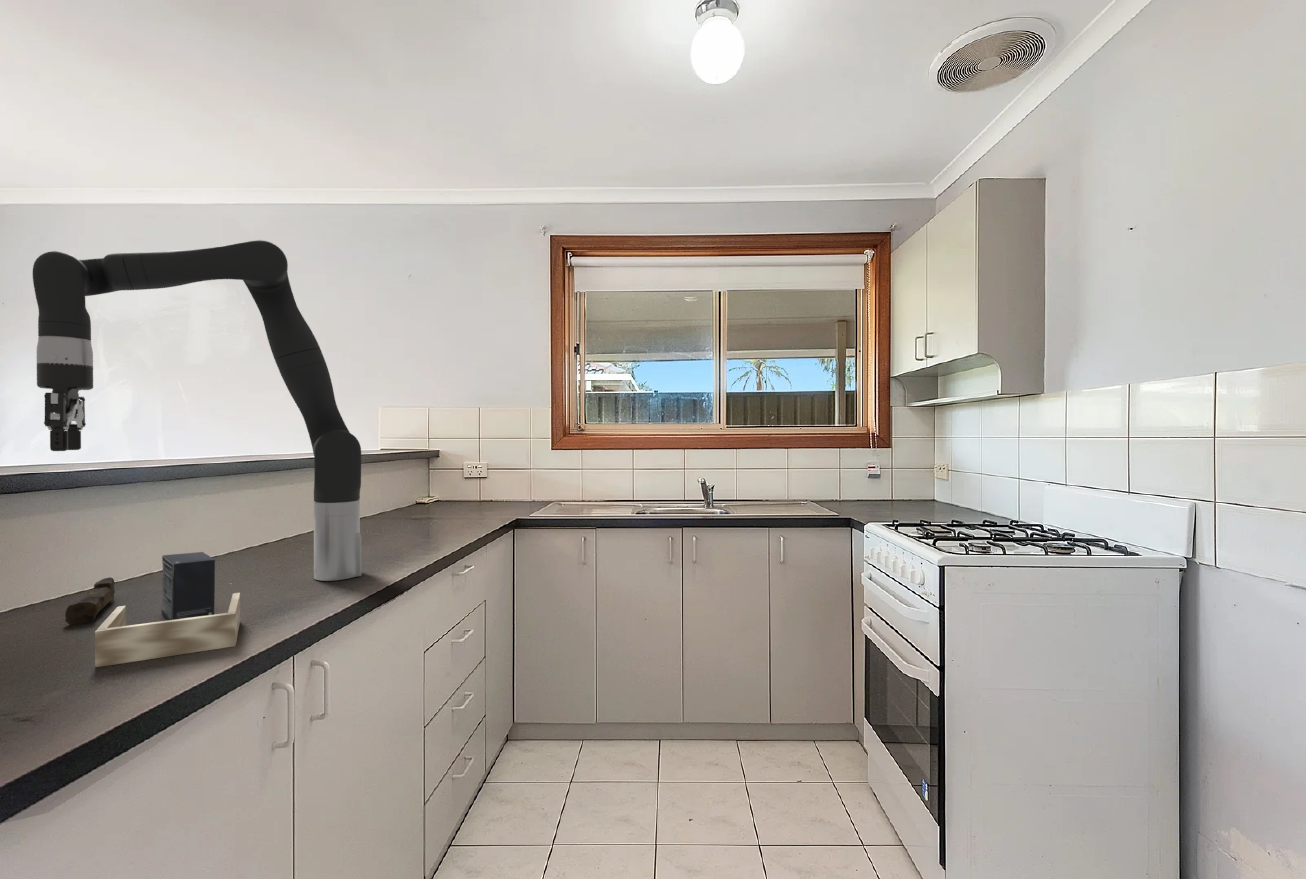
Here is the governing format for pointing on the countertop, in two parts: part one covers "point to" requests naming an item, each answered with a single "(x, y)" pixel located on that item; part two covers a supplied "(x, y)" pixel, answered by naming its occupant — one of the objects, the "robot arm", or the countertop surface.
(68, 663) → the countertop surface
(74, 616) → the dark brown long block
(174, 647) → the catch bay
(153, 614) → the countertop surface
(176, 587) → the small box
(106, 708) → the countertop surface
